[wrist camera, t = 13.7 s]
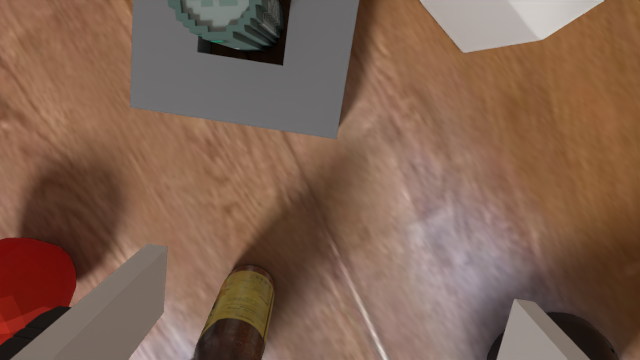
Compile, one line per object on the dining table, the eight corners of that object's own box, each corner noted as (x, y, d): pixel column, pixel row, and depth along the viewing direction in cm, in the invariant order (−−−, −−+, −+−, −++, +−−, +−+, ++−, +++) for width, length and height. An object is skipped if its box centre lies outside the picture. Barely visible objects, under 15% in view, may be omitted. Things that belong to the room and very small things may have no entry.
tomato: (-21, 259, 47) (-150, 327, 34) (50, 199, 45) (-59, 248, 32) (51, 326, 49) (-45, 414, 36) (121, 273, 47) (46, 346, 34)
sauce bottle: (219, 266, 47) (147, 398, 28) (271, 259, 46) (234, 387, 27) (231, 314, 48) (170, 470, 29) (281, 307, 48) (253, 461, 29)
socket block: (368, -75, 38) (374, -94, 33) (335, 132, 43) (336, 139, 38) (158, -110, 37) (136, -135, 33) (150, 104, 42) (129, 107, 38)
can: (221, -12, 39) (160, -64, 25) (282, -14, 39) (257, -67, 24) (226, 52, 41) (172, 39, 26) (285, 51, 41) (263, 36, 26)
